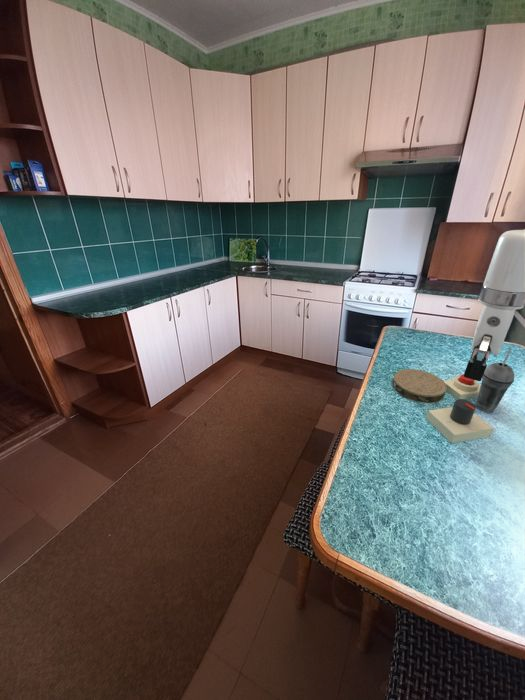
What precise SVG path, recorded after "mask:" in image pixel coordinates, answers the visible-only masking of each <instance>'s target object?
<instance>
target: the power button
mask: <svg viewBox="0 0 525 700" xmlns="http://www.w3.org/2000/svg"><path fill="white" fill-rule="evenodd" d="M459 376H460V378H459V382H461V383H463V384H465V385H473V383H474V381H475V380H473V379H469V378H466V377H464V373H463V374H460V375H459Z"/></svg>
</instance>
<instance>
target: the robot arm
mask: <svg viewBox="0 0 525 700" xmlns="http://www.w3.org/2000/svg"><path fill="white" fill-rule="evenodd" d="M477 302H478V303H479V304H481V305H482V308H481V311H480V314H479V317H478V320H477V323H476V326H475V330H474V334H473V338H472V342H471V347H470V349H471V350H472V352H471V355H470V358H469V359H468V361H467V365H466V368H465V369H464V373H463V374H464V377H466V378H469V379H473V380H476V381H478V382H482V377H483V374H484V372H485V369H486V367H488V364H487V363H488V361H489V357H490V355H494V357H496V356H499V355H500V352H501V349H502V348H503V344H504V341H505V340H506V337H507V334H508V333H509V329H510V327H511V324H512V322H513V319H514V316H515V312H516V310H521V309H523V308H524V307H525V228H524V229H513V230H507V231H504V232H503V233H502V234H501V235H500V236H499V238H498V241H497V243H496V245H495V249H494V251H493V255H492V257H491V260H490V262H489V266H488V269H487V271H486V275H485V278H484V281H483V284H482V287H481V289H480V292H479V296H478V299H477Z"/></svg>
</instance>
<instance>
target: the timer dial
mask: <svg viewBox="0 0 525 700" xmlns="http://www.w3.org/2000/svg"><path fill="white" fill-rule="evenodd" d="M452 407H453V408H452V411H451V414H450V418H451V419H452V420H453V421H455V422H456V423H459V424H463V425H467V424H469V423H470V422H471V419H472V417H473V414H474V413H475V411H476V409H477V407H476V404H475V403H473V402H471V401H470V400H469V399H457V398H456V399H455V401H454V403H453V406H452Z"/></svg>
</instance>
